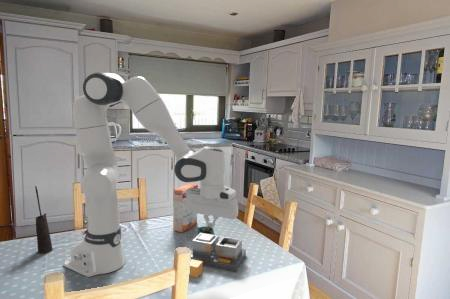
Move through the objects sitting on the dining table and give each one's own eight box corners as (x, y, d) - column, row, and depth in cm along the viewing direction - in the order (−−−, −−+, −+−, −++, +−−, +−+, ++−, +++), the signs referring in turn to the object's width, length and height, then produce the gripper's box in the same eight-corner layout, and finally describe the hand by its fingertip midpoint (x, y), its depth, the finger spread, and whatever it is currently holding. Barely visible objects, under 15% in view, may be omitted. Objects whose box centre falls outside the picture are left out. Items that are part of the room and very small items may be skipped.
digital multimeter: (212, 231, 152) (212, 225, 152) (216, 245, 137) (216, 238, 137) (197, 232, 151) (197, 226, 151) (199, 246, 136) (199, 239, 136)
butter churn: (48, 242, 136) (43, 180, 132) (64, 246, 132) (60, 182, 128) (28, 252, 127) (22, 185, 123) (45, 256, 124) (40, 188, 120)
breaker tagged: (220, 255, 121) (220, 248, 121) (225, 250, 126) (225, 243, 126) (233, 258, 120) (233, 250, 119) (236, 252, 124) (237, 245, 124)
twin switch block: (186, 262, 122) (186, 243, 121) (201, 246, 135) (201, 229, 134) (235, 272, 115) (236, 252, 114) (245, 255, 128) (246, 237, 127)
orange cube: (186, 275, 113) (186, 264, 112) (191, 269, 117) (191, 259, 116) (197, 277, 111) (197, 267, 111) (202, 271, 115) (202, 261, 115)
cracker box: (183, 233, 148) (183, 190, 145) (172, 231, 151) (172, 189, 148) (198, 223, 161) (198, 184, 158) (188, 221, 163) (188, 182, 160)
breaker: (197, 245, 124) (197, 238, 124) (202, 240, 129) (202, 233, 129) (209, 247, 123) (209, 240, 122) (213, 242, 127) (213, 235, 127)
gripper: (182, 188, 115) (181, 224, 117) (235, 196, 108) (233, 233, 110) (189, 185, 121) (189, 219, 123) (240, 191, 114) (238, 227, 116)
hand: (210, 226), depth 116 cm, fingers closed
